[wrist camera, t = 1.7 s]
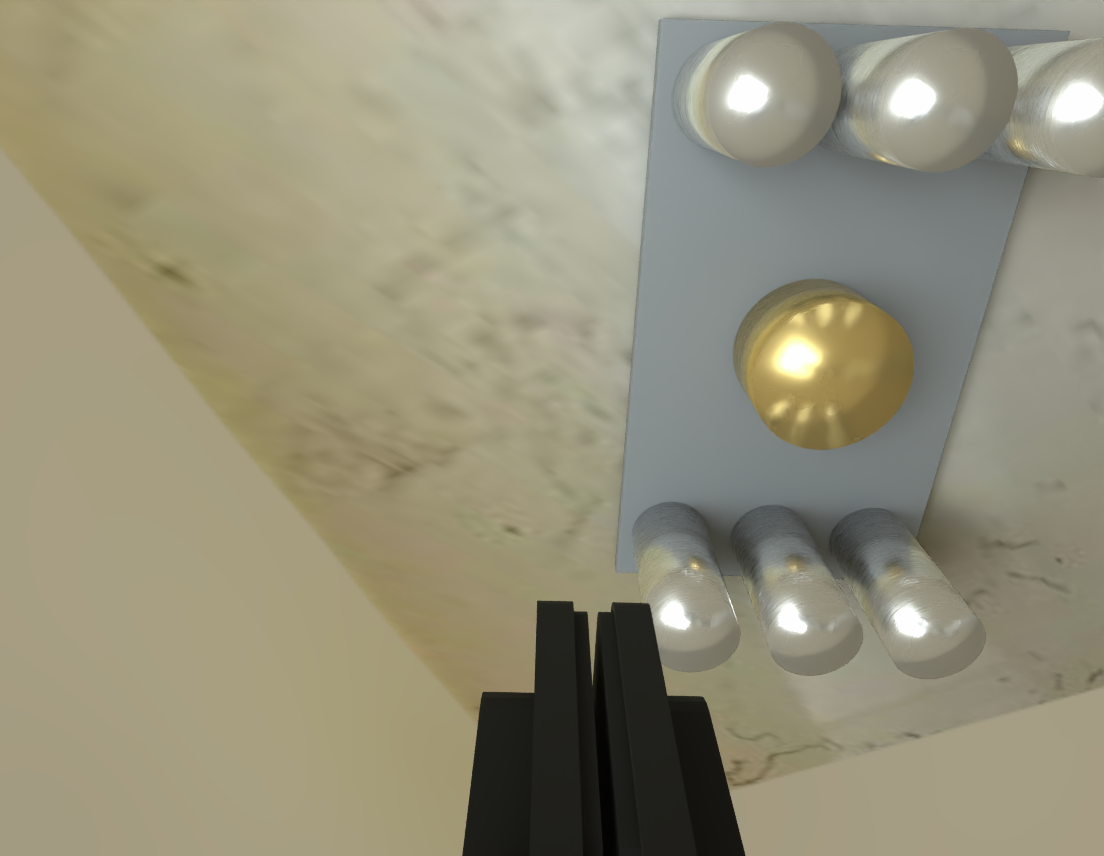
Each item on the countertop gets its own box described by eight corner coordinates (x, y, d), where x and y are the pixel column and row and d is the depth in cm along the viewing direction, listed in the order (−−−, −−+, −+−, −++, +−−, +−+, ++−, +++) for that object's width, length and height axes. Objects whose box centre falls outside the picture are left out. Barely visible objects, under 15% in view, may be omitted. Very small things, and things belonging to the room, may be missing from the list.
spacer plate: (1057, 32, 21) (1069, 31, 21) (897, 571, 30) (903, 580, 29) (658, 20, 21) (661, 18, 21) (614, 563, 30) (615, 572, 29)
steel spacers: (1047, 49, 21) (1218, 34, 15) (894, 570, 29) (971, 680, 24) (676, 38, 21) (717, 20, 15) (628, 562, 29) (644, 670, 24)
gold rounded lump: (890, 280, 24) (932, 305, 21) (858, 414, 26) (893, 451, 23) (743, 276, 24) (767, 299, 21) (723, 410, 26) (742, 447, 23)
